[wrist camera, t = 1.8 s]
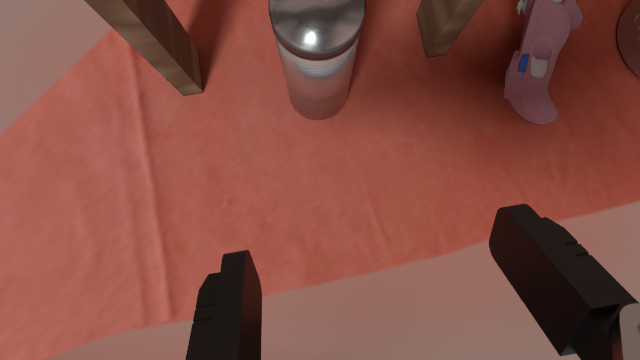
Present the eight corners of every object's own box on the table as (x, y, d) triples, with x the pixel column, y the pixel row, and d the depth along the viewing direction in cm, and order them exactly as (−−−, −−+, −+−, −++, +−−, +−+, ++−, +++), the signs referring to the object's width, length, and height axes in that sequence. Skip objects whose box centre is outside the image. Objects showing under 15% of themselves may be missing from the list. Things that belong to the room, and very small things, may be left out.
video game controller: (518, 23, 31) (527, -42, 24) (580, 23, 28) (606, -48, 22) (490, 123, 29) (491, 81, 23) (552, 132, 27) (571, 88, 21)
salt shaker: (342, 60, 28) (356, -45, 17) (352, 115, 28) (373, 42, 17) (284, 69, 28) (262, -31, 17) (293, 125, 28) (276, 58, 17)
